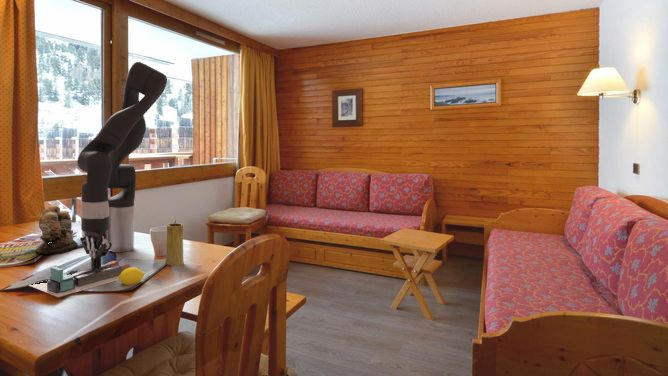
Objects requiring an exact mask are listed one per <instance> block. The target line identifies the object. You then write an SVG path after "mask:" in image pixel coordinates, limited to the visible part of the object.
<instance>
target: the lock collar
mask: <svg viewBox="0 0 668 376" xmlns="http://www.w3.org/2000/svg"><path fill="white" fill-rule="evenodd" d="M69 275H70V274H65V273H64V269H63V268H59V267H57V266H51V267H50V275H48V277H49V278H48V280H54V281H57V282H60V291H65V290H68V289H72V288H73V277H72V276H69Z"/></svg>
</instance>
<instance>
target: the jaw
mask: <svg viewBox="0 0 668 376" xmlns="http://www.w3.org/2000/svg"><path fill="white" fill-rule="evenodd" d="M118 265H120V263H119V260H112V261H109V262H106V263H104V264H101V265H100V266H97V267H94V268H91V267H90V268H87V269H83V270H82V271H78V272H75V273H72V275H71V274H68V275H69V276H72V277H73V279H75V277H77V276H80V275H84V274H88V273H92V272H96V271H100V270H104V269H108V268H112V267H116V266H118Z"/></svg>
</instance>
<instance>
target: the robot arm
mask: <svg viewBox="0 0 668 376" xmlns="http://www.w3.org/2000/svg"><path fill="white" fill-rule="evenodd" d="M167 84H168V77H167V76H166V74H164V73H162V72H161V71H159V70H158V69H155V68H153V67H151V66H149V65H147V64H145V63H144V62H141V61H136V62H134V63H132V65H131V66H130V68H129V70H128V72H127V77H126V79H125V85H124V92H123V99H122V105H121V109H120V110H119V111H117V112H115V113H114V114H112V115H111V116H110V117H108V119H107V120H106V122H105V123H104V125H103V126H102V127H101V128H100V130H99V131H98V133H97V135H96V136H95V137H94V138H93V139H92V140H91V141H89V142H88V144H86V146H85V147H84V148H83V149H82V150H81V152H79V155H78V156H77V160H76V161H77V166H78V168H79V169H80V170H81V171H82V172H85V173H86V181H85V182H84V183H82V185H81V190H82V201H81V206H80V229H81V232H82V231H84V232H85V236H84V237H82V236H80V238H79V240H80V243H81V245H82V247H83V248H84V252H85V254H86V255H89V258H90V265H91V267H90V269H91V268H94V267H97V266H100V265H102V257H106V256H107V255H108V252H110V251H109V250H112V251H114V252H113V253H125V252H129V251H132V250H134V245H135V244H134V243H135V242H134V241H135V239H134V238H135V236H134V235H135V198H136V182H137V181H136V180H137V172H136V168H135V167H134V165H133V164H129V163H127V164H125V163H122V162H123V161H124V160H125V159H126V158H127V157H128V156H130V155H131V154H132V153H133V152H134V151H136V150H137V149H138V148H139V147H140V146H141V144H142V143H143V140H144V137H145V133H146V129H147V123H146V120H145V117H144V115H145V114H146V113H147V112H148V111H149V110H150V108H151V107H153V105H154V104H155V103H156V102H157V101H158V99H159V98H160V97H161V96H162V94H163V93H164V91H165V89H166V87H167ZM140 94H141V95H143V97H142V98H141V99H139V98H140ZM108 188H110V189H114V190H115V189H121V191H120V192H119V193H118V194H116V195H113V196H110V198H108Z"/></svg>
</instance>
